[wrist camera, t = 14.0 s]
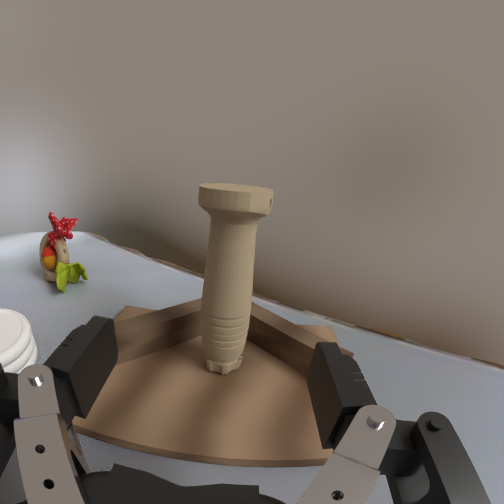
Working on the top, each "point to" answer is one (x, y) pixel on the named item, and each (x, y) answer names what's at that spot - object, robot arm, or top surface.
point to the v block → (210, 392)
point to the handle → (229, 269)
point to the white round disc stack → (16, 342)
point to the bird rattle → (59, 254)
